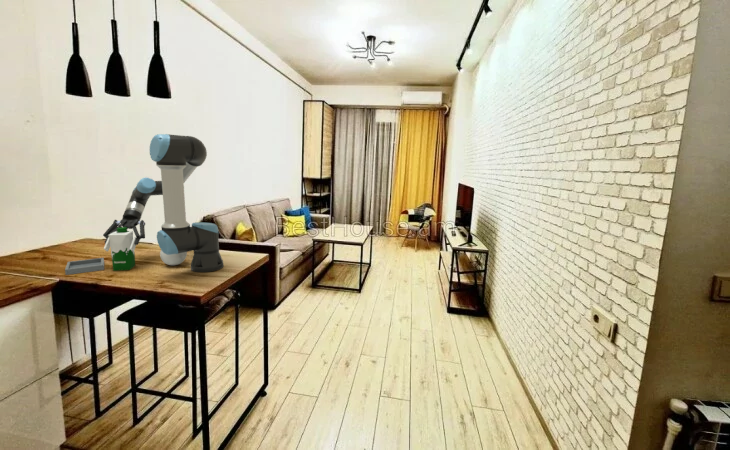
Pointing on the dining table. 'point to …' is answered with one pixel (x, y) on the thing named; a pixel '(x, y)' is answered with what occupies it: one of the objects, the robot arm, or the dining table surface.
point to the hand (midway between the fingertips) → (118, 250)
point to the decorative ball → (173, 258)
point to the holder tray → (84, 266)
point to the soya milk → (122, 249)
